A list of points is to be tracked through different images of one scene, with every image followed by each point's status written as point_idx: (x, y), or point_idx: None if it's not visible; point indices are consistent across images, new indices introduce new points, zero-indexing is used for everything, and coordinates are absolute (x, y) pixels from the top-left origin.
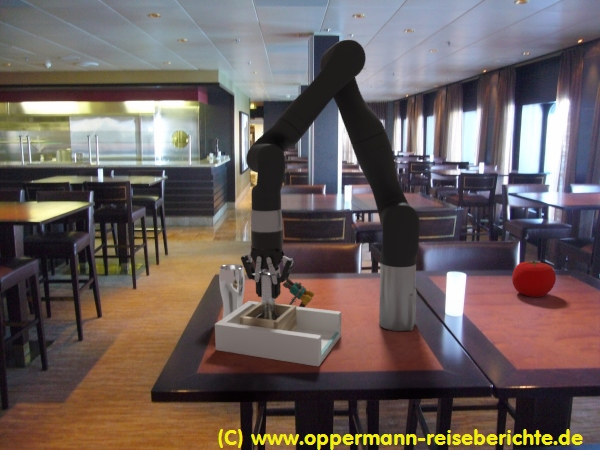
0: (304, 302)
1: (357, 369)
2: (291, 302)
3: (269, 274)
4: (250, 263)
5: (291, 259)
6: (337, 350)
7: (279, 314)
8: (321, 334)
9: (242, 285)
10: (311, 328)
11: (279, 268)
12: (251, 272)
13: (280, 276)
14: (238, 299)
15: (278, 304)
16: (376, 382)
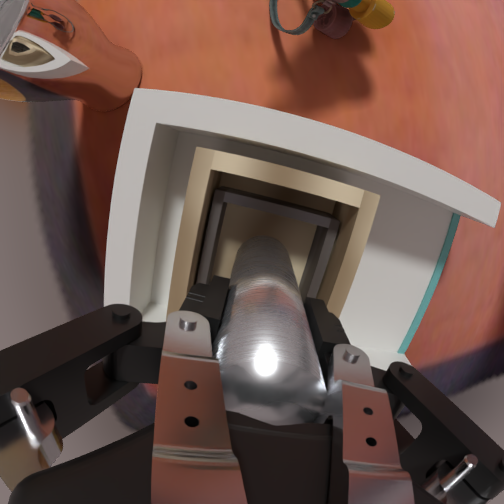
0: (364, 23)
1: (450, 353)
2: (312, 17)
3: (282, 422)
4: (52, 400)
5: (487, 502)
6: (439, 280)
7: (300, 210)
8: (420, 226)
9: (77, 48)
10: (395, 189)
11: (385, 409)
12: (115, 394)
13: (370, 372)
14: (93, 79)
15: (295, 180)
16: (458, 382)
